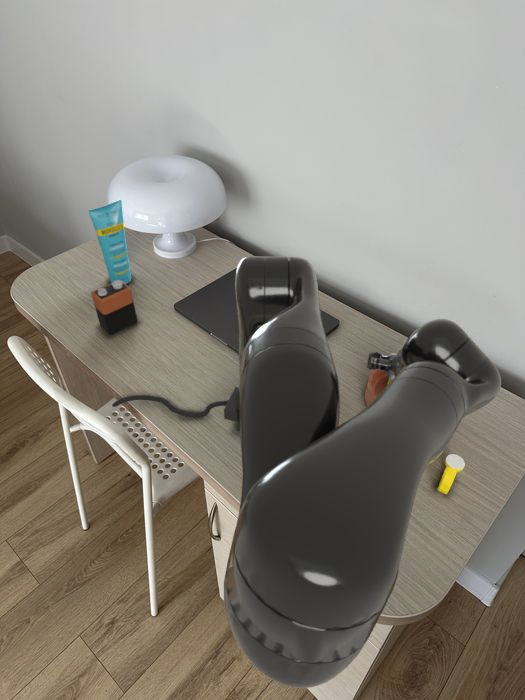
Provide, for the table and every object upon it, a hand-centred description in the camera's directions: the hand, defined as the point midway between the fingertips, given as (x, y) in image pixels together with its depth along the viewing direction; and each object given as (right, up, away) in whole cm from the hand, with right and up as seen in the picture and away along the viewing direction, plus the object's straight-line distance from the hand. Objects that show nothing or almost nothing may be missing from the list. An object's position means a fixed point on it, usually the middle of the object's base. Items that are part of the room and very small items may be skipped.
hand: (407, 368), depth 84 cm
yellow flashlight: (+4, -18, -7) cm, 20 cm away
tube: (-58, +20, +31) cm, 69 cm away
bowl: (0, -7, +4) cm, 8 cm away
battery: (-56, +8, +19) cm, 59 cm away
